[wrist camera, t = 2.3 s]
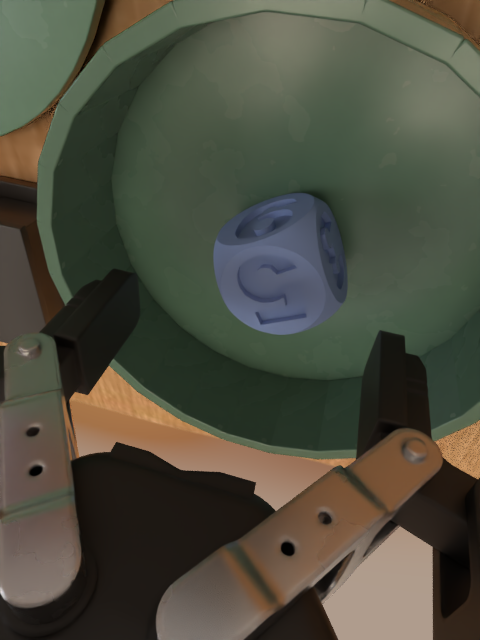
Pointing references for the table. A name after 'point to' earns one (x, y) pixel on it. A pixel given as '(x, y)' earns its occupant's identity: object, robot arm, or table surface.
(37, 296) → the stand
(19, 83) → the tin lid
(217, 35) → the tin
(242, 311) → the decorative dice
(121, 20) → the table surface
